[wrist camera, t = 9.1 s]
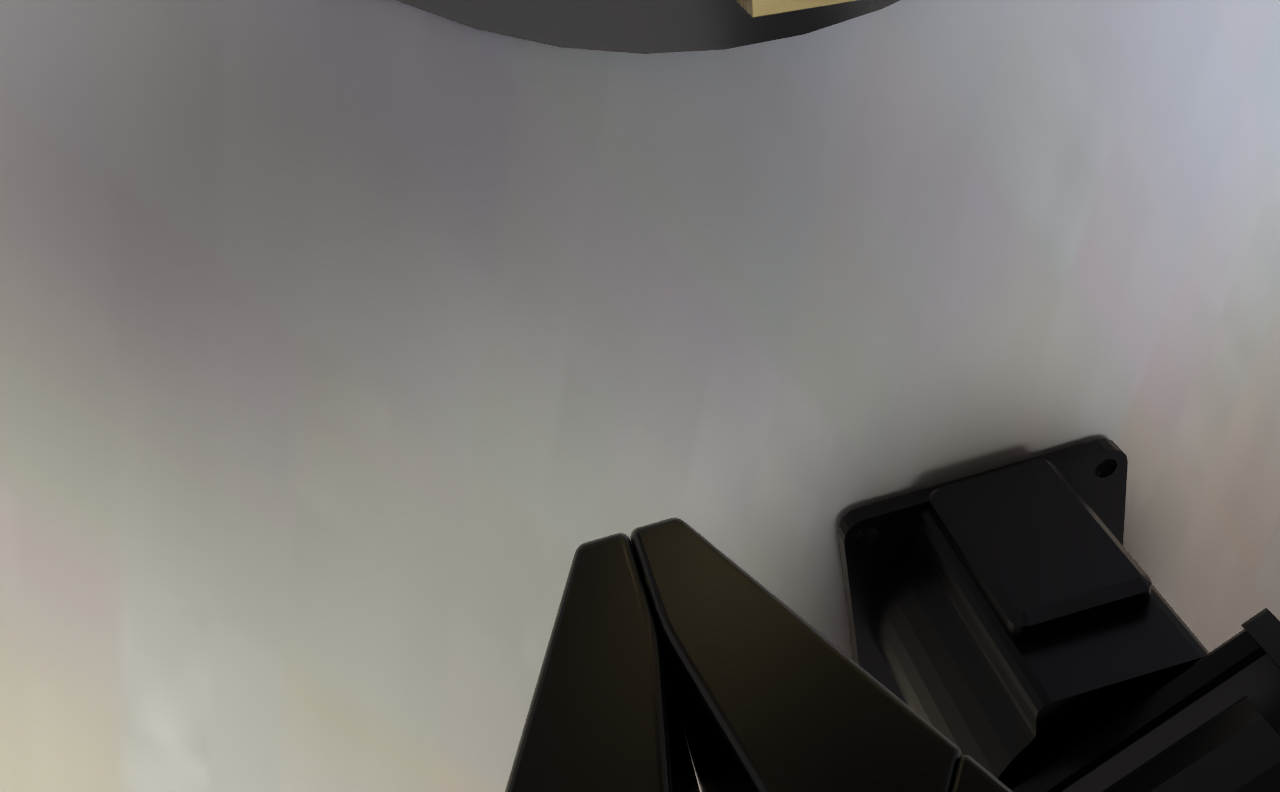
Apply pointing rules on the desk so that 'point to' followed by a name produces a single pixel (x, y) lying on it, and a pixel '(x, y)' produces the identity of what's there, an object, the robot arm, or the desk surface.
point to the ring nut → (782, 5)
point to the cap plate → (641, 22)
